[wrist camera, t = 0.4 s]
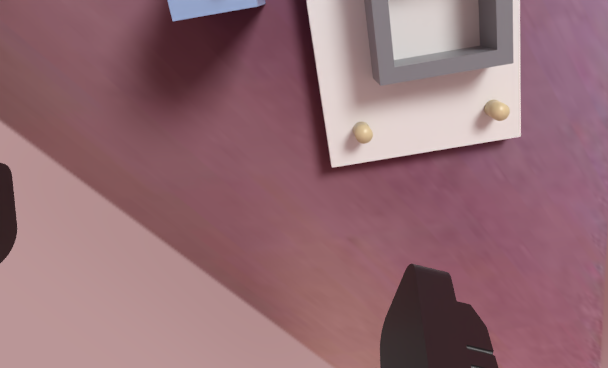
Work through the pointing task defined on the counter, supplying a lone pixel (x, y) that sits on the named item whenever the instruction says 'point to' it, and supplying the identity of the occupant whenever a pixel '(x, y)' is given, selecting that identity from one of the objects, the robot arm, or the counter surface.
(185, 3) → the block
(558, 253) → the counter surface
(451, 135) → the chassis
